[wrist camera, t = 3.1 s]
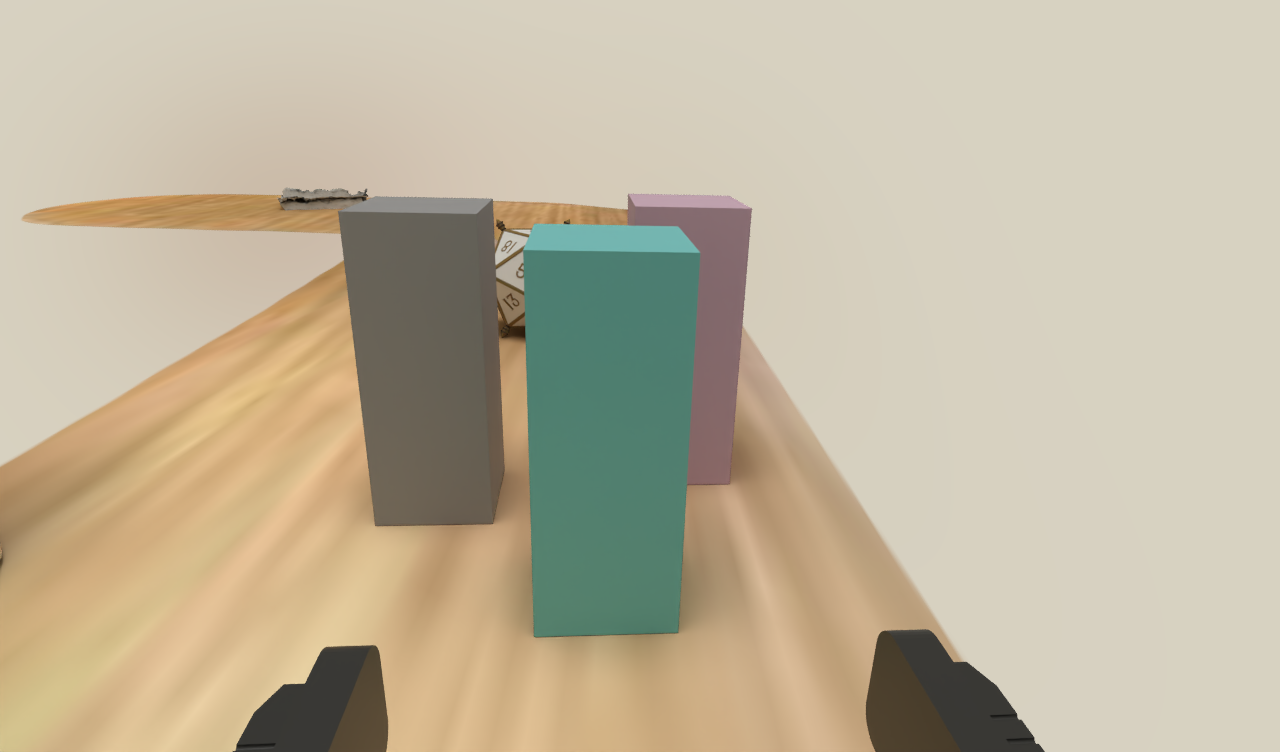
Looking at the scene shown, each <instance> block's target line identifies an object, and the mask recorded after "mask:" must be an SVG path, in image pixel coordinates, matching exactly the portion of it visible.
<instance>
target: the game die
mask: <svg viewBox="0 0 1280 752" xmlns="http://www.w3.org/2000/svg"><path fill="white" fill-rule="evenodd" d="M564 224H570V219H569V220H567V221H564ZM496 226H497V227H498V229H500V230H501V231H502V232H501V235H500V237H499V240H498V243H497V245H496V248H495V264H496V287H497V307H498V309H499V311H500V313H501V315H502V318H503V320H504V322H505V324H506V326H505V327H504V328H503V329H502V330H501V332H502V337H504V336H505V335H508V334H507V333H508V332H509V328H510V327H525V299H524V263H523V249H524V247H525V245H526V242H527V240H528V238H529V235H530V233H531V231H532V229H506V228H505V225H504V224H503V221H502V222H501V221H499V220H497V225H496Z"/></svg>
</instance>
